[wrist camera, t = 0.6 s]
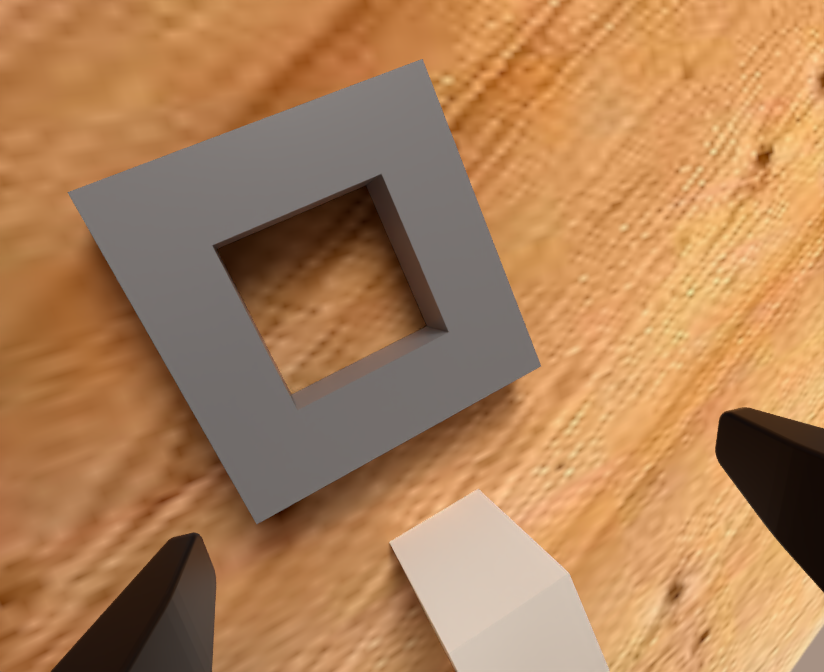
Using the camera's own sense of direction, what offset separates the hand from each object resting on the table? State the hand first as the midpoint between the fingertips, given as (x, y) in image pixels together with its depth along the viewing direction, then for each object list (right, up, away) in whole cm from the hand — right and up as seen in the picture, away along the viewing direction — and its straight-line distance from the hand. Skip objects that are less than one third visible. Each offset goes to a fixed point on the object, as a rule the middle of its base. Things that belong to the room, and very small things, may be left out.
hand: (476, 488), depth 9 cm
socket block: (-4, +4, +12) cm, 13 cm away
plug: (+1, -7, +15) cm, 16 cm away
